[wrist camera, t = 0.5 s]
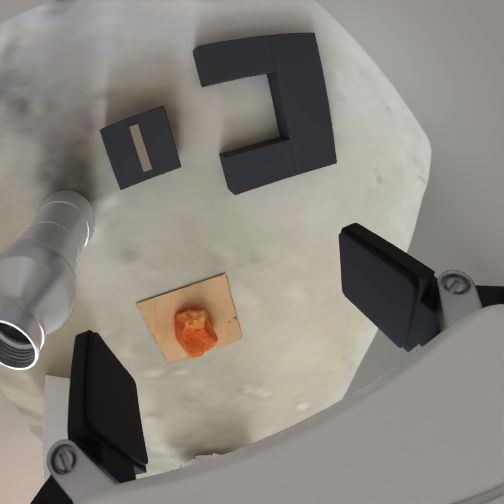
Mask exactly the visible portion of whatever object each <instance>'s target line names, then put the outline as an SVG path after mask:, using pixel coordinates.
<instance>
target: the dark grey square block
mask: <svg viewBox="0 0 504 504" xmlns="http://www.w3.org/2000/svg"><path fill="white" fill-rule="evenodd" d="M100 133H101V136H102V139H103V142H104V145H105V148H106V151H107V154H108V157H109V160H110V162H111V165H112V168H113V171H114V174H115V176H116V179H117V182H118V185H119V187H120V190H122V189H125V188H127V187H130V186H132V185H135V184H137V183H140V182H142V181H145V180H147V179H150V178H153V177H155V176H158V175H161V174H163V173H166V172H169V171H172V170H174V169H177V168H180V167H181V163H180V160H179V157H178V154H177V150H176V147H175V143H174V140H173V137H172V133H171V130H170V126H169V123H168V119H167V116H166V112H165V109H164V106H161V107H158V108H155V109H152V110H149V111H147V112H144V113H141V114H138V115H135V116H133V117H130V118H127V119H125V120H122V121H120V122H117V123H115V124H112V125H110V126H107V127H105V128H103V129H100Z"/></svg>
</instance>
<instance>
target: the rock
mask: <svg viewBox="0 0 504 504" xmlns="http://www.w3.org/2000/svg"><path fill="white" fill-rule="evenodd" d="M215 278H216V279H215ZM136 305H137V307H138V308H139V310H140V313H141V314H142V317H143V318H144V320H145V322H146V324H147V326H148V328H149V330H150V332H151V334H152V336H153V338H154V340H155V341H156V343H157V345H158V347H159V348H160V351H161V352H162V354H163V355H164V357H165V359H166V361H167V363H172V362H175V361H178V360H181V359H184V358H187V357H190V359H192V360H195V359H196V358H197V357H199V356H201V355H202V354H203V353H204V352H206V351H208V350H211V349H214V348H217V347H220V346H223V345H225V344H228V343H231V342H234V341H236V340H239V339H241V338H242V336H241V332H240V328H239V324H238V321H237V320H235V319H233V316H236V313H235V310H234V306H233V302H232V298H231V294H230V290H229V286H228V282H227V278H226V274H224V275H221V276H218V277H214V278H211V279H208V280H205V281H202V282H200V283H197V284H194V285H190V286H187V287H185V288H182V289H179V290H176V291H173V292H169V293H167V294H164V295H160V296H158V297H154V298H152V299H148V300H145V301H142V302H139V303H136ZM228 321H230V323H229V322H228Z"/></svg>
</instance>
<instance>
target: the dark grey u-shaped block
mask: <svg viewBox="0 0 504 504" xmlns="http://www.w3.org/2000/svg"><path fill="white" fill-rule="evenodd" d="M193 55H194V59H195V63H196V67H197V71H198V75H199V78H200V82H201V86H202V87H205V86H209V85H213V84H217V83H222V82H226V81H231V80H235V79H240V78H245V77H251V76H256V75H262V74H267V77H268V82H269V86H270V91H271V95H272V100H273V105H274V109H275V114H276V119H277V124H278V129H279V134H280V137H279V138H275V139H271V140H267V141H263V142H260V143H256V144H252V145H249V146H245V147H242V148H238V149H235V150H232V151H228V152H225V153H222V154H219V156H220V159H221V163H222V167H223V171H224V175H225V179H226V182H227V186H228V189H229V190H230V191H231V192H232V193H233V194H234V195H237V194H240V193H243V192H246V191H249V190H252V189H255V188H258V187H261V186H264V185H267V184H270V183H273V182H276V181H279V180H282V179H286V178H289V177H292V176H295V175H298V174H302V173H305V172H308V171H312V170H315V169H318V168H322V167H325V166H329V165H332V164H336V163H337V160H336V152H335V144H334V136H333V129H332V122H331V116H330V109H329V103H328V97H327V92H326V86H325V81H324V75H323V70H322V65H321V60H320V56H319V51H318V46H317V42H316V37H315V33H291V34H277V35H268V36H267V35H265V36H256V37H248V38H241V39H234V40H228V41H222V42H216V43H211V44H206V45H201V46H197V47H196V48H195V49H194V51H193Z"/></svg>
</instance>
